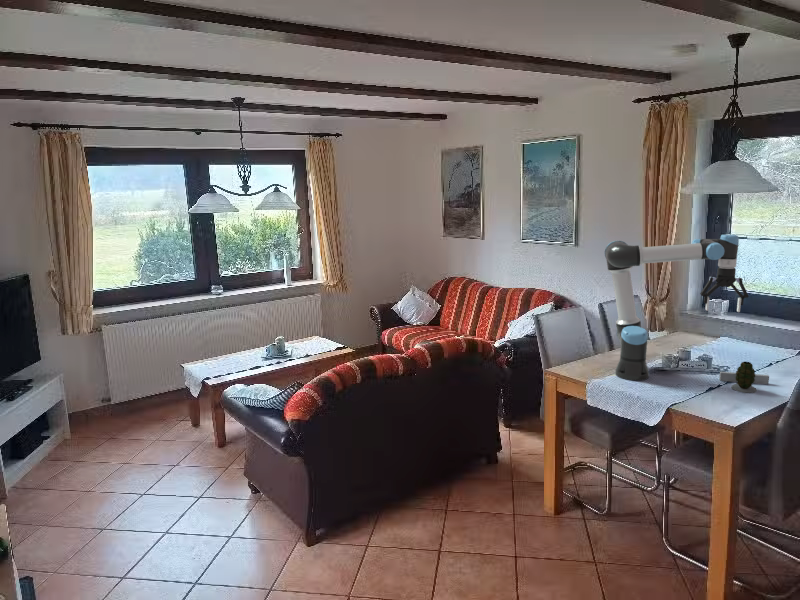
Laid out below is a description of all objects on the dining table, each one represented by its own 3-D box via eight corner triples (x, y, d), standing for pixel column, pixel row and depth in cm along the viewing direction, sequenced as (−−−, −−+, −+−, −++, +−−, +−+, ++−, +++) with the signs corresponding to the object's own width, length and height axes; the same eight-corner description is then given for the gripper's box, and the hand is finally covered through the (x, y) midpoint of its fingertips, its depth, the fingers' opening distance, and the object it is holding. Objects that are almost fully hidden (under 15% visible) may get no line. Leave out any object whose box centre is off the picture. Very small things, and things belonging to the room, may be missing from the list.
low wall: (719, 380, 274) (720, 372, 274) (719, 379, 276) (720, 371, 275) (768, 384, 268) (769, 376, 268) (767, 383, 270) (768, 375, 269)
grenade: (756, 391, 259) (759, 365, 256) (737, 390, 260) (740, 365, 258) (750, 385, 266) (753, 360, 264) (731, 384, 268) (734, 359, 265)
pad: (734, 392, 260) (734, 390, 260) (729, 384, 270) (729, 383, 269) (759, 394, 257) (759, 392, 257) (753, 386, 267) (753, 385, 266)
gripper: (699, 267, 276) (695, 311, 281) (758, 269, 269) (753, 314, 273) (696, 265, 283) (692, 307, 288) (754, 266, 276) (749, 310, 280)
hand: (722, 310), depth 280 cm, fingers open, 13 cm apart
